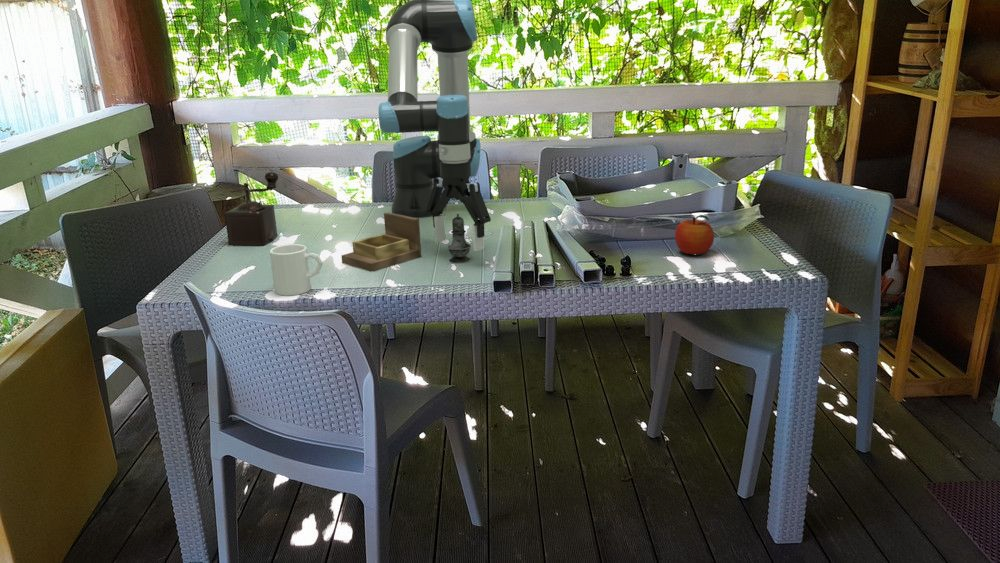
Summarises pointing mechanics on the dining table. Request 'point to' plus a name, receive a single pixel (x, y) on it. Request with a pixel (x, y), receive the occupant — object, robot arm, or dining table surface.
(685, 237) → the fruit
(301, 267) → the mug
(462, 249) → the salt shaker
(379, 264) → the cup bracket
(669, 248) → the dining table surface
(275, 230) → the manual coffee grinder
